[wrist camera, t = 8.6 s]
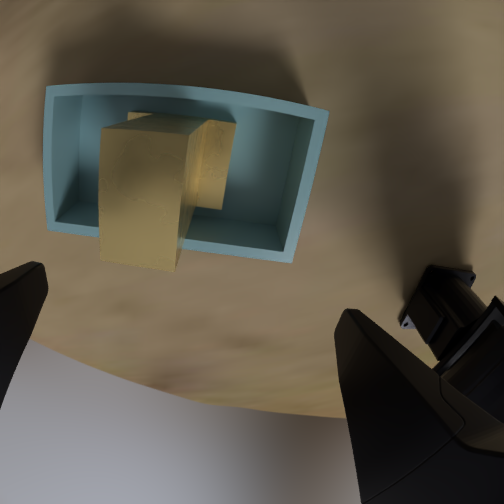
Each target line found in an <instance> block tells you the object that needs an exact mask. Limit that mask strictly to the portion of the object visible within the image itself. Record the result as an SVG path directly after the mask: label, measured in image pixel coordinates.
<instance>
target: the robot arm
mask: <svg viewBox="0 0 504 504" xmlns="http://www.w3.org/2000/svg"><path fill="white" fill-rule="evenodd" d="M431 271H432V272H431ZM430 272H431V273H430ZM475 278H476V274H475V273H474V272H472V271H466V270H460V269H454V268H448V267H441V266H435V265H430V266H429V267H428V268H427V269H426V271H425V273H424V275H423V277H422V280H421V282H420V284H419V286H418V288H417V290H416V292H415V294H414V296H413V298H412V300H411V302H410V304H409V306H408V308H407V310H406V312H405V313H404V315H403V317H402V319H401V321H400V326H401V328H403V329H417V331H418V333H419V334H420V336H421V337H422V339H423V341H424V342H425V344H428V346H429V347H430V349H431V351H432V352H433V354H434V356H435V357H436V359H437V361H440V362H439V363H438V364H437V365H436V366H435V367H434V368H432V369H431V368H430V367H428V366H427V365H426V364H425V363H424V362H422V361H421V360H420V359H419V358H418V357H416V356H415V355H414V354H413V353H411V352H410V351H409V350H408V349H407V348H405V347H404V346H403V345H402V344H400V343H399V342H398V341H397V340H396V339H394V338H393V337H392V336H391V335H389V334H388V333H387V332H386V331H384V330H383V329H382V328H381V327H380V326H378V325H377V324H376V323H375V322H373V321H372V320H371V319H370V318H368V317H367V316H366V315H365V314H363V313H362V312H361V311H360V310H358V309H348V308H347V309H345V310H344V311H343V313H342V315H341V317H340V320H339V322H338V324H337V326H336V329H335V332H334V339H335V348H336V358H337V368H338V377H339V383H340V388H341V393H342V398H343V403H344V407H345V412H346V417H347V422H348V428H349V433H350V438H351V444H352V449H353V455H354V461H355V466H356V472H357V479H358V485H359V491H360V498H361V503H362V504H504V302H503V301H501V300H500V299H499V298H498V297H497V296H496V295H495V296H494V298H493V299H492V300H491V301H492V302H491V303H490V305H489V306H488V307H487V306H486V305H485V304H484V303H483V302H482V301H481V299H480V298H479V297H478V296H477V295H476V294H475V293H474V292H473V291H472V289H471V286H472V284H473V282H474V280H475ZM47 294H48V282H47V277H46V272H45V267H44V265H43V264H42V263H39V262H34V261H31V262H28V263H26V264H23V265H21V266H19V267H16V268H14V269H11V270H9V271H7V272H4V273H2V274H0V408H1V405H2V403H3V400H4V397H5V395H6V392H7V389H8V387H9V384H10V382H11V379H12V377H13V374H14V372H15V370H16V367H17V365H18V362H19V360H20V358H21V355H22V353H23V351H24V349H25V347H26V345H27V342H28V340H29V338H30V336H31V334H32V331H33V329H34V326H35V324H36V321H37V319H38V316H39V313H40V311H41V308H42V306H43V303H44V301H45V299H46V296H47Z"/></svg>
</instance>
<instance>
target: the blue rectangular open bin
mask: <svg viewBox="0 0 504 504" xmlns="http://www.w3.org/2000/svg"><path fill="white" fill-rule="evenodd" d="M132 111H141V112H155V113H167V114H177V115H186V116H195V117H203V118H211V119H218V120H225V121H231V122H237V124H236V129H235V135H234V140H233V146H232V151H231V157H230V163H229V168H228V174H227V180H226V186H225V192H224V198H223V204H222V210H219V209H212V208H205V207H198V206H196V207H195V210H194V213H193V216H192V219H191V222H190V225H189V228H188V231H187V234H186V237H185V240H184V244H183V247H182V249H188V250H195V251H203V252H210V253H218V254H225V255H233V256H240V257H248V258H256V259H263V260H271V261H279V262H286V263H292V260H293V256H294V253H295V249H296V245H297V242H298V238H299V234H300V230H301V227H302V223H303V219H304V215H305V211H306V207H307V203H308V200H309V196H310V192H311V188H312V184H313V180H314V176H315V172H316V167H317V163H318V159H319V155H320V151H321V146H322V142H323V138H324V134H325V129H326V125H327V120H328V116H329V111H327V110H323V109H319V108H315V107H311V106H307V105H303V104H298V103H294V102H289V101H285V100H280V99H275V98H270V97H264V96H259V95H253V94H247V93H241V92H234V91H227V90H219V89H211V88H203V87H193V86H182V85H168V84H150V83H83V84H66V85H53V86H46V96H45V109H44V128H43V177H44V196H45V209H46V219H47V229H48V230H49V231H57V232H64V233H71V234H78V235H85V236H92V237H99V207H98V190H99V156H100V139H101V128H104V127H107V126H110V125H114V124H117V123H121V122H124V121H127V119H128V112H132Z"/></svg>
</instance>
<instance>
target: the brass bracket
mask: <svg viewBox="0 0 504 504" xmlns="http://www.w3.org/2000/svg"><path fill="white" fill-rule="evenodd" d="M236 124H237V122H231V121H225V120H218V119H211V118H203V117H195V116H186V115H177V114H167V113H155V112H141V111H132V112H128V119H127V121H124V122H121V123H117V124H114V125H110V126H107V127H104V128H101V139H100V156H99V190H98V207H99V241H100V258H101V261H107V262H113V263H119V264H126V265H132V266H138V267H145V268H151V269H158V270H164V271H171V272H175V270H176V266H177V263H178V260H179V256H180V253H181V250H182V247H183V244H184V240H185V237H186V234H187V231H188V228H189V225H190V222H191V219H192V216H193V213H194V210H195V207H196V206H198V207H205V208H212V209H219V210H222V204H223V198H224V192H225V186H226V180H227V174H228V168H229V163H230V157H231V151H232V146H233V140H234V135H235V129H236Z"/></svg>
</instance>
